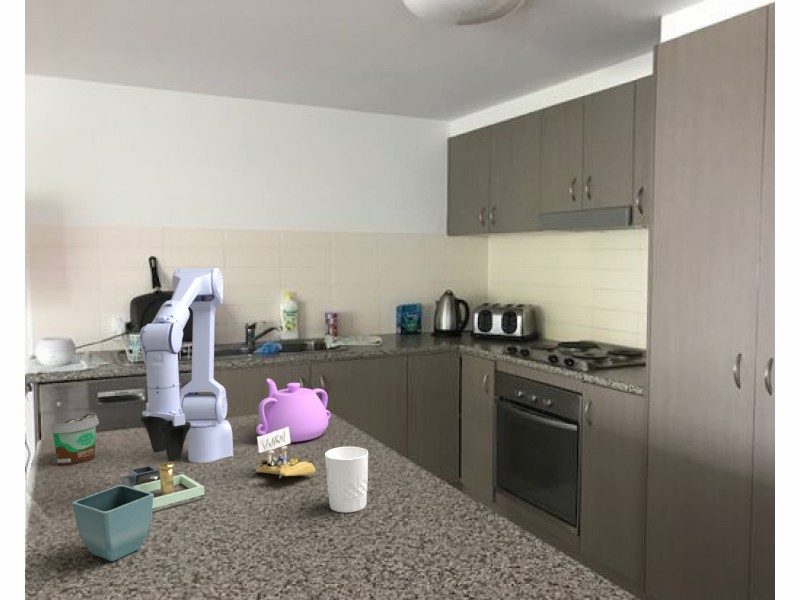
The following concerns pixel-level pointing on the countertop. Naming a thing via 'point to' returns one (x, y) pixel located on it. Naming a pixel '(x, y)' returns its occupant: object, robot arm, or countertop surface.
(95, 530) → the flower pot
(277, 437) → the figurine with sign
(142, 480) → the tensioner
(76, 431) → the food container
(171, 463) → the pin
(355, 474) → the white cup
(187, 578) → the countertop surface
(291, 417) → the teapot
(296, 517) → the countertop surface
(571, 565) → the countertop surface
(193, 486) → the tray
